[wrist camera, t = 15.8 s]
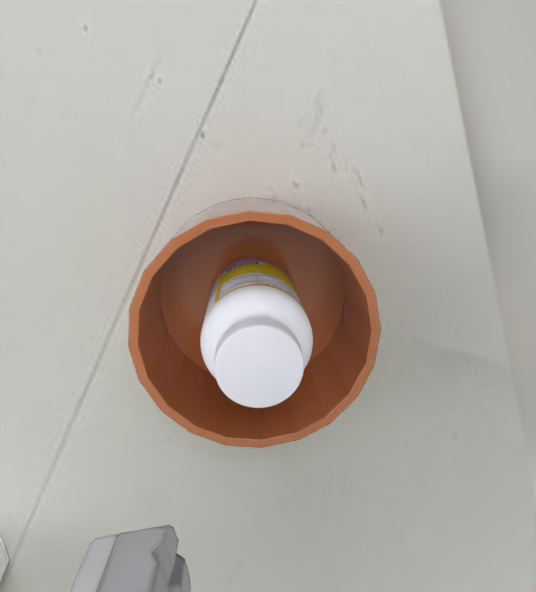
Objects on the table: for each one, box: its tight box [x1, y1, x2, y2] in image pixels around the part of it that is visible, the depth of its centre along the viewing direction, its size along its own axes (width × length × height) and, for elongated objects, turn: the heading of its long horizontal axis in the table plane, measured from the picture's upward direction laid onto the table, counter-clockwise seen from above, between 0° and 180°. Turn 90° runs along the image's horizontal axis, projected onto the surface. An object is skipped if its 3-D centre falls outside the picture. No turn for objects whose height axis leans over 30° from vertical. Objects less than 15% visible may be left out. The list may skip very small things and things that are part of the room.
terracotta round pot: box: [128, 198, 381, 448], centre depth 34 cm, size 15×15×9 cm
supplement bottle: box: [200, 258, 313, 408], centre depth 31 cm, size 7×7×13 cm
